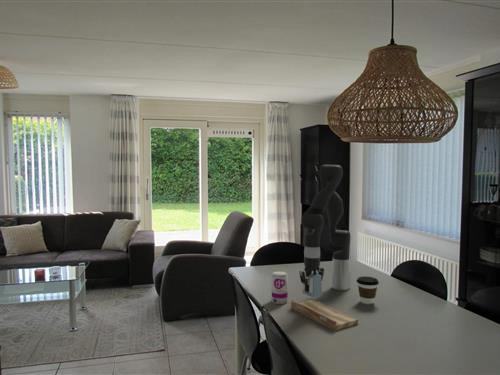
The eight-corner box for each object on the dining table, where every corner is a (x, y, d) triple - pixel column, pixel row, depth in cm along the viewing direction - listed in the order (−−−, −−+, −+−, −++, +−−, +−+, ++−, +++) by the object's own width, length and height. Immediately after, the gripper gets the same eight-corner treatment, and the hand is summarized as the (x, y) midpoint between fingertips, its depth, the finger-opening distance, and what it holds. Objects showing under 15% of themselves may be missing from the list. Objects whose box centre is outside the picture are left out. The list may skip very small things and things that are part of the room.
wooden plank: (313, 303, 200) (313, 295, 200) (358, 323, 175) (358, 315, 174) (290, 308, 193) (290, 300, 192) (334, 330, 167) (334, 321, 167)
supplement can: (286, 305, 198) (286, 275, 197) (270, 303, 199) (270, 274, 199) (288, 299, 206) (288, 271, 205) (272, 298, 207) (272, 270, 206)
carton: (321, 296, 186) (321, 275, 186) (313, 297, 184) (313, 276, 183) (310, 291, 193) (310, 271, 193) (302, 293, 191) (302, 272, 190)
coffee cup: (379, 300, 205) (380, 277, 204) (376, 307, 195) (377, 283, 194) (358, 297, 209) (358, 275, 209) (354, 304, 200) (354, 280, 199)
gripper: (305, 259, 181) (305, 295, 181) (328, 255, 188) (328, 290, 189) (295, 255, 187) (294, 291, 188) (318, 252, 194) (317, 286, 195)
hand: (311, 290), depth 188 cm, fingers closed on carton, 5 cm apart
